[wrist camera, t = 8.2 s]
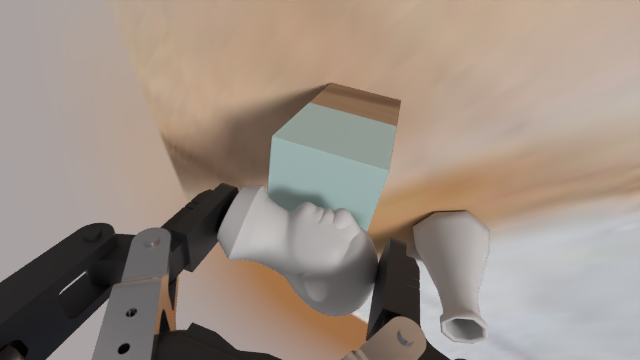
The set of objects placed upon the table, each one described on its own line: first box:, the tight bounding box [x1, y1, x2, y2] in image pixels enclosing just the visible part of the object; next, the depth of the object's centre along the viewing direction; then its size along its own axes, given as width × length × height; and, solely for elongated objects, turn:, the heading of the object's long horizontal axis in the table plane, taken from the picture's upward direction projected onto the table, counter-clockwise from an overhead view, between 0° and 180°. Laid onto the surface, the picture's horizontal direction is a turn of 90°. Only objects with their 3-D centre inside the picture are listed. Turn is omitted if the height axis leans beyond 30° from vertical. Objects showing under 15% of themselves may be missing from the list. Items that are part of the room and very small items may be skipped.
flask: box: [413, 211, 490, 344], centre depth 24 cm, size 7×7×10 cm
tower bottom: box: [309, 83, 401, 126], centre depth 23 cm, size 6×6×6 cm
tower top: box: [267, 103, 397, 232], centre depth 18 cm, size 6×6×6 cm
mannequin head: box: [217, 186, 378, 316], centre depth 13 cm, size 4×8×5 cm
